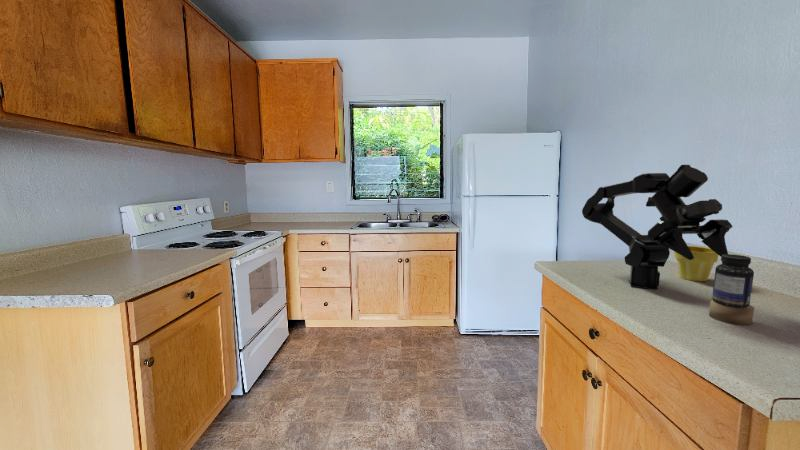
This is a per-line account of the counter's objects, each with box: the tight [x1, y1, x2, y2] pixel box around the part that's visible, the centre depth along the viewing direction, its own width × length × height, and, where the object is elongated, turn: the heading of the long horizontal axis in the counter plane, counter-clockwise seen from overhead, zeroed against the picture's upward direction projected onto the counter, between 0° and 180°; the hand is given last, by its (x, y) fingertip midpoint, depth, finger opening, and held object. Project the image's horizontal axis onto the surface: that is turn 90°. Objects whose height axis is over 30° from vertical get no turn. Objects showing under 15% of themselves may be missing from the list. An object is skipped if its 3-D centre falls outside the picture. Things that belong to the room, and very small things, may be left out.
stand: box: [708, 298, 755, 326], centre depth 75 cm, size 7×7×4 cm
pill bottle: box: [711, 253, 755, 308], centre depth 75 cm, size 6×6×11 cm
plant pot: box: [674, 245, 719, 282], centre depth 106 cm, size 10×10×10 cm
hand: (709, 258), depth 80 cm, fingers open, 9 cm apart
